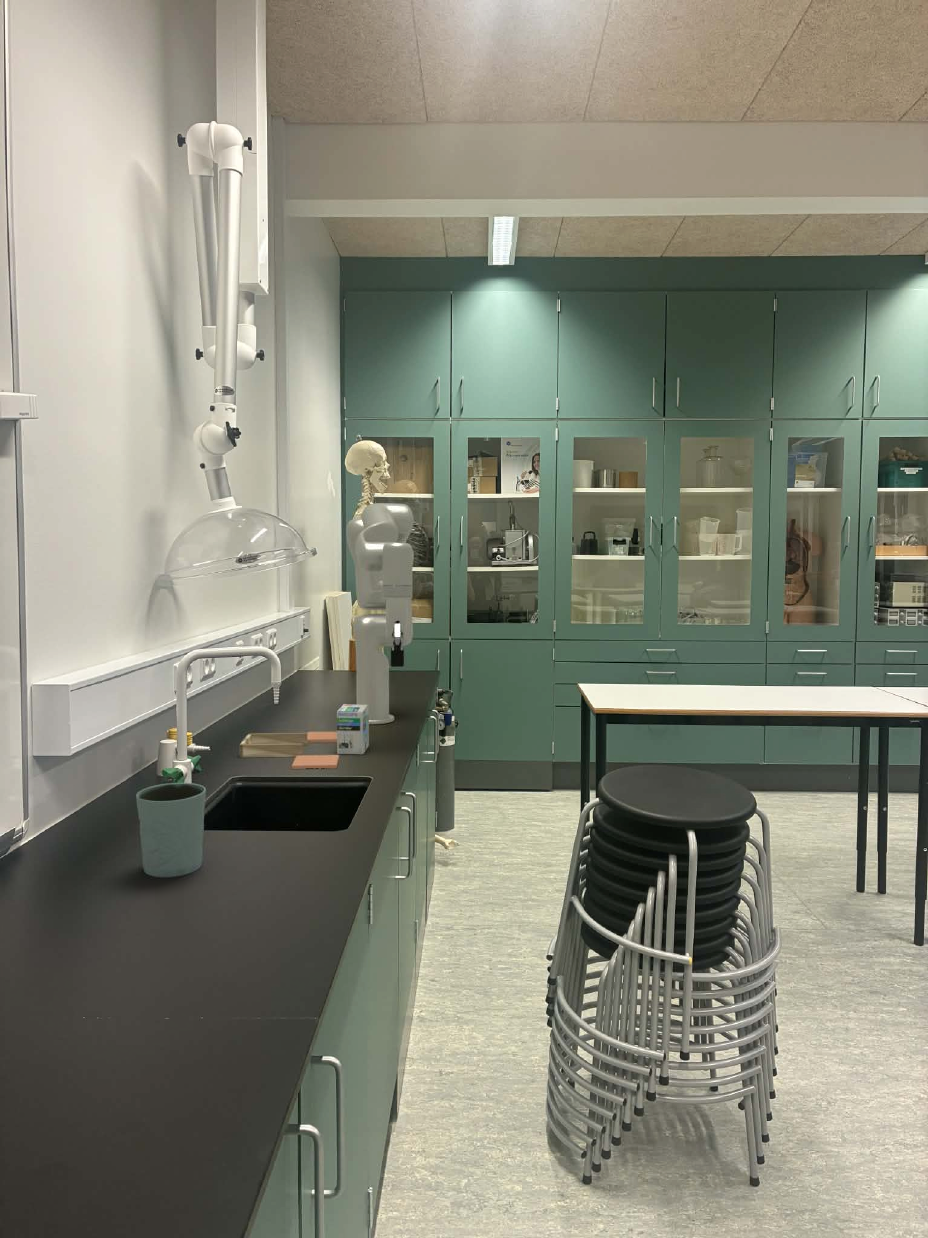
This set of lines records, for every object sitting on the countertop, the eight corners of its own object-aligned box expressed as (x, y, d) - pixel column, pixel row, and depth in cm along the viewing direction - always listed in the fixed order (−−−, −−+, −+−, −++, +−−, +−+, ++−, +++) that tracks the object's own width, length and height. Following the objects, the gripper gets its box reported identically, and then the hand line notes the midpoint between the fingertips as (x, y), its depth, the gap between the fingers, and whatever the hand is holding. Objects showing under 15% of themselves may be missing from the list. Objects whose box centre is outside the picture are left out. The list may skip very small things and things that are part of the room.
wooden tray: (248, 745, 217) (248, 733, 216) (307, 744, 218) (307, 733, 218) (239, 757, 203) (239, 745, 203) (301, 756, 204) (301, 744, 204)
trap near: (296, 758, 202) (296, 755, 202) (338, 758, 203) (338, 755, 203) (291, 769, 192) (291, 765, 192) (336, 768, 193) (336, 765, 193)
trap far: (308, 734, 230) (308, 731, 230) (345, 734, 231) (345, 731, 231) (304, 742, 220) (304, 739, 220) (343, 742, 221) (343, 739, 221)
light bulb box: (363, 755, 207) (363, 711, 206) (336, 754, 207) (336, 711, 206) (369, 745, 217) (369, 703, 217) (343, 745, 217) (343, 703, 217)
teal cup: (204, 853, 137) (203, 780, 136) (209, 875, 128) (208, 796, 127) (137, 861, 133) (135, 786, 133) (137, 883, 124) (135, 803, 123)
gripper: (382, 591, 218) (382, 661, 220) (381, 593, 201) (381, 669, 203) (411, 591, 219) (411, 660, 220) (413, 594, 202) (413, 669, 203)
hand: (397, 664), depth 211 cm, fingers open, 5 cm apart
